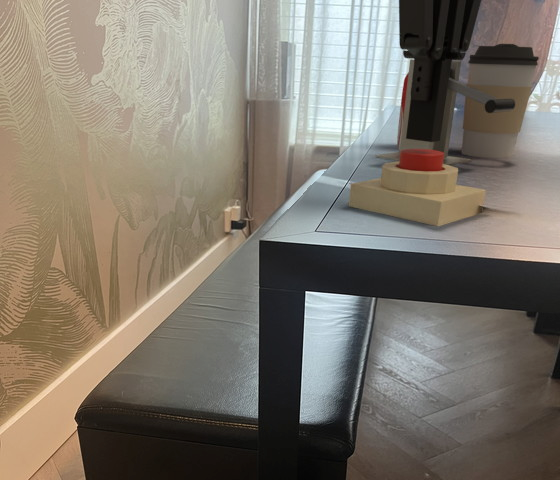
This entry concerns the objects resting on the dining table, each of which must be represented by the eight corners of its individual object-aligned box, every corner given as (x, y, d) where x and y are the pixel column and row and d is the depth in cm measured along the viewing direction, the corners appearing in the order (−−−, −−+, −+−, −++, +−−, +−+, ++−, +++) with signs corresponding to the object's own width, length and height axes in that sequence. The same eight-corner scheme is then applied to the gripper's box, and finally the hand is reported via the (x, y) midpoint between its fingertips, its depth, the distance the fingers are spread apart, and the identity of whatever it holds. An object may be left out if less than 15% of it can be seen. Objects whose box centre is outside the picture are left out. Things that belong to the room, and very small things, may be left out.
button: (449, 172, 57) (452, 152, 56) (426, 176, 55) (429, 156, 54) (413, 166, 60) (415, 147, 59) (389, 170, 57) (391, 151, 56)
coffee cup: (517, 168, 83) (542, 43, 76) (450, 162, 85) (468, 41, 78) (518, 159, 90) (541, 44, 83) (456, 154, 93) (473, 43, 86)
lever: (510, 117, 74) (519, 97, 73) (490, 119, 71) (500, 98, 70) (432, 81, 80) (439, 62, 78) (410, 82, 77) (417, 62, 75)
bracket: (470, 168, 81) (487, 61, 75) (438, 175, 76) (454, 60, 70) (407, 158, 88) (419, 59, 82) (374, 164, 82) (384, 58, 76)
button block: (482, 213, 58) (490, 170, 56) (437, 227, 53) (444, 179, 51) (395, 196, 64) (400, 156, 62) (348, 206, 59) (351, 164, 57)
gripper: (466, -168, 51) (426, 131, 62) (373, -216, 43) (346, 140, 54) (554, -187, 47) (494, 139, 58) (469, -245, 38) (418, 150, 49)
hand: (422, 139), depth 56 cm, fingers closed
